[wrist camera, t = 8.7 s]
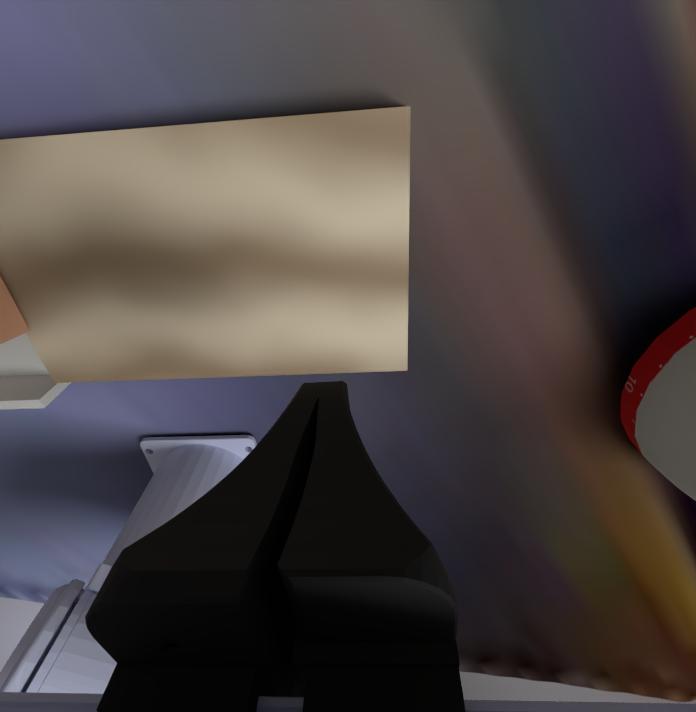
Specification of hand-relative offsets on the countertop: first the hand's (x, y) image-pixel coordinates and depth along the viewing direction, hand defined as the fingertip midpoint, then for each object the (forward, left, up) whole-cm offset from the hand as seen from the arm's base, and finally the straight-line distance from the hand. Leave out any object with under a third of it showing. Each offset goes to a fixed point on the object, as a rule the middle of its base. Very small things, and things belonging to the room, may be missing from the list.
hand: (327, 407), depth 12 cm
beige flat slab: (+2, +7, -10) cm, 12 cm away
